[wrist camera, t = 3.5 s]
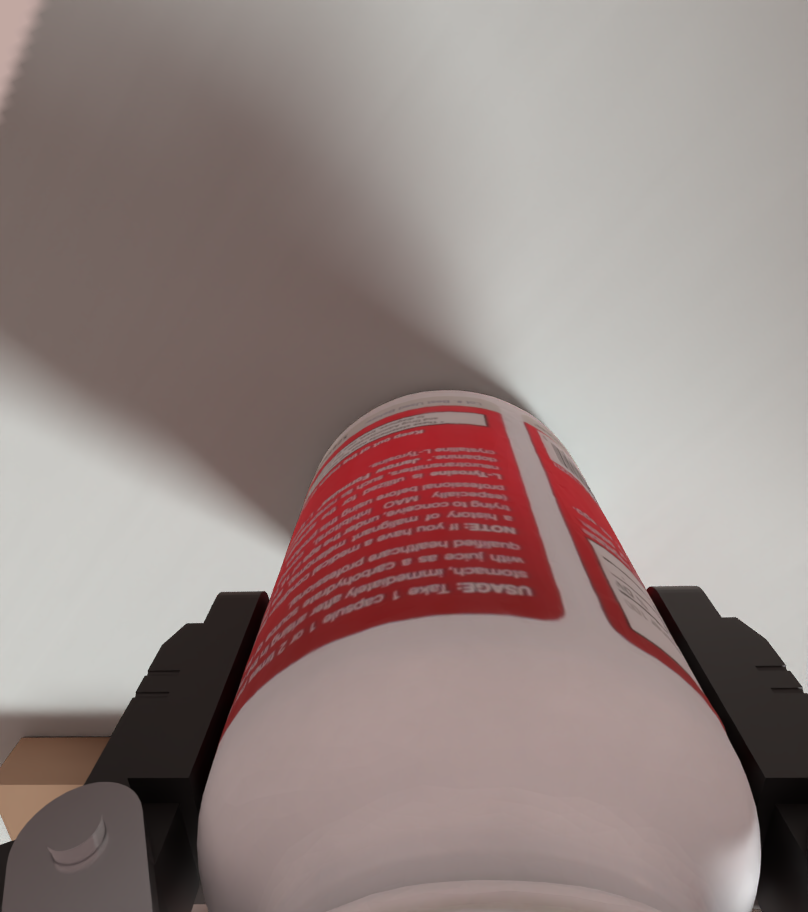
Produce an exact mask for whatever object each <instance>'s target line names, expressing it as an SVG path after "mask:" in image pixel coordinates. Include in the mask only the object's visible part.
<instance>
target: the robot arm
mask: <svg viewBox="0 0 808 912" xmlns="http://www.w3.org/2000/svg"><path fill="white" fill-rule="evenodd" d="M647 592H648V594H649V596H650V598H651V599H652V601H653V603H654V604H655V606H656V608H657V610H658V612H659V614H660V615H661V617H662V619H663V621H664V623H665V625H666V626H667V628H668V630H669V632H670V634H671V636H672V637H673V639H674V641H675V643H676V645H677V646H678V648H679V649H680V651H681V653H682V655H683V656H684V658H685V660H686V662H687V663H688V665H689V667H690V669H691V671H692V673H693V674H694V676H695V678H696V680H697V682H698V683H699V685H700V687H701V689H702V691H703V692H704V694H705V696H706V697H707V698H708V700H709V702H710V704H711V705H712V707H713V708H714V710H715V711H716V713H717V714H718V716H719V718H720V719H721V721H722V723H723V725H724V727H725V731H726V734H727V736H728V739H729V741H730V743H731V745H732V747H733V749H734V750H735V752H736V754H737V756H738V758H739V760H740V762H741V765H742V767H743V769H744V772H745V774H746V777H747V780H748V783H749V786H750V789H751V792H752V795H753V799H754V802H755V805H756V810H757V815H758V821H759V827H760V842H761V865H760V876H759V882H758V888H757V894H756V898H755V901H754V905H753V909H761V910H762V912H808V694H807V693H804V692H803V687H802V686H801V685H800V683H799V682H798V681H797V679H796V678H795V677H794V675H793V674H792V673H791V671H787V670H786V665H785V664H784V662H783V661H782V660H781V658H780V657H779V656H778V654H777V653H776V652H775V650H774V649H773V648H772V646H771V645H770V644H769V642H768V641H767V640H766V639H765V638H764V637H762V636H761V635H760V634H758V633H757V632H755V631H754V630H753V629H751V628H750V627H749V626H747V625H746V624H744V623H743V622H742V621H740V620H739V619H738V618H736V617H728V618H722V617H721V616H720V615H719V613H718V612H717V610H716V609H715V607H714V606H713V604H712V603H711V602H710V600H709V599H708V597H707V596H706V594H705V593H704V592H703V590H702V589H701V588H700V587H698V586H658V587H649V588H648V589H647ZM268 603H269V597H268V595H267V593H266V592H265V591H257V592H221V593H219V594H218V595H217V597H216V599H215V601H214V603H213V605H212V607H211V609H210V611H209V613H208V615H207V617H206V619H205V621H204V623H187V624H185V625H184V626H183V627H182V628H181V629H180V630H179V631H178V632H176V633H175V634H174V635H173V636H172V637H171V638H170V639H168V640H167V641H166V642H165V643H164V644H163V645H162V646H161V648H160V650H159V651H158V653H157V655H156V657H155V659H154V660H153V662H152V664H151V666H150V668H149V669H148V675H147V676H144V678H143V680H142V682H141V684H140V685H139V687H138V689H137V691H136V696H135V698H132V700H131V701H130V703H129V705H128V707H127V709H126V710H125V712H124V714H123V716H122V718H121V719H120V721H119V723H118V725H117V726H116V728H115V730H114V732H113V734H112V735H111V737H110V739H109V741H108V743H107V744H106V746H105V748H104V750H103V751H102V753H101V755H100V757H99V759H98V760H97V762H96V764H95V766H94V768H93V769H92V771H91V773H90V775H89V776H88V778H87V780H86V782H85V783H84V785H83V786H80V787H77V788H75V789H73V790H70V791H68V792H66V793H64V794H62V795H61V796H59V797H57V798H55V799H54V800H53V801H51V802H50V803H48V804H47V805H45V806H44V807H43V808H42V809H41V810H40V811H38V812H37V813H36V814H35V815H34V816H33V817H32V818H31V819H30V820H29V821H28V822H27V824H26V825H25V826H24V827H23V829H22V830H21V831H20V833H19V834H18V836H17V838H16V840H13V841H10V842H7V843H4V844H2V845H0V912H191V911H192V908H193V905H194V904H206V902H205V898H204V894H203V889H202V884H201V879H200V874H199V868H198V853H197V834H198V818H199V813H200V807H201V802H202V797H203V793H204V790H205V787H206V783H207V780H208V777H209V774H210V770H211V767H212V764H213V761H214V757H215V754H216V751H217V748H218V744H219V741H220V738H221V735H222V732H223V729H224V727H225V724H226V721H227V718H228V715H229V713H230V710H231V707H232V705H233V702H234V699H235V697H236V694H237V691H238V689H239V686H240V682H241V679H242V677H243V674H244V671H245V668H246V665H247V662H248V660H249V657H250V654H251V652H252V649H253V646H254V643H255V640H256V637H257V635H258V632H259V629H260V626H261V623H262V620H263V617H264V614H265V611H266V609H267V606H268Z"/></svg>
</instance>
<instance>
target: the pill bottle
mask: <svg viewBox="0 0 808 912" xmlns="http://www.w3.org/2000/svg"><path fill="white" fill-rule="evenodd" d="M197 853H198V868H199V874H200V879H201V884H202V889H203V894H204V898H205V902H206V905H207V908H208V911H209V912H752V909H753V905H754V901H755V898H756V894H757V888H758V882H759V876H760V865H761V842H760V827H759V821H758V815H757V810H756V805H755V802H754V799H753V795H752V792H751V789H750V786H749V783H748V780H747V777H746V774H745V772H744V769H743V767H742V765H741V762H740V760H739V758H738V756H737V754H736V752H735V750H734V749H733V747H732V745H731V743H730V741H729V739H728V736H727V734H726V731H725V727H724V725H723V723H722V721H721V719H720V718H719V716H718V714H717V713H716V711H715V710H714V708H713V707H712V705H711V704H710V702H709V700H708V698H707V697H706V696H705V694H704V692H703V691H702V689H701V687H700V685H699V683H698V682H697V680H696V678H695V676H694V674H693V673H692V671H691V669H690V667H689V665H688V663H687V662H686V660H685V658H684V656H683V655H682V653H681V651H680V649H679V648H678V646H677V645H676V643H675V641H674V639H673V637H672V636H671V634H670V632H669V630H668V628H667V626H666V625H665V623H664V621H663V619H662V617H661V615H660V614H659V612H658V610H657V608H656V606H655V604H654V603H653V601H652V599H651V598H650V596H649V594H648V592H647V590H646V589H645V587H644V585H643V583H642V581H641V580H640V578H639V576H638V575H637V573H636V571H635V569H634V567H633V565H632V564H631V562H630V560H629V558H628V557H627V555H626V553H625V551H624V549H623V548H622V546H621V544H620V542H619V540H618V538H617V537H616V535H615V533H614V531H613V530H612V528H611V526H610V524H609V522H608V520H607V519H606V517H605V515H604V514H603V512H602V510H601V508H600V506H599V504H598V503H597V501H596V499H595V497H594V495H593V494H592V492H591V490H590V488H589V486H588V485H587V482H586V480H585V478H584V477H583V475H582V473H581V471H580V470H579V468H578V467H577V465H576V463H575V462H574V460H573V458H572V457H571V455H570V454H569V452H568V451H567V449H566V448H565V447H564V445H563V444H562V443H561V442H560V440H559V439H558V438H557V437H556V436H555V435H554V434H553V432H552V431H550V430H549V429H548V428H547V427H546V426H545V425H544V424H543V423H542V422H540V421H539V420H538V419H536V418H535V417H534V416H532V415H531V414H529V413H528V412H526V411H524V410H522V409H520V408H518V407H516V406H514V405H512V404H510V403H508V402H506V401H503V400H501V399H498V398H495V397H492V396H488V395H484V394H480V393H475V392H469V391H459V390H437V391H425V392H420V393H415V394H410V395H405V396H403V397H400V398H397V399H394V400H392V401H389V402H387V403H385V404H382V405H380V406H378V407H377V408H375V409H373V410H371V411H370V412H368V413H367V414H365V415H364V416H362V417H361V418H359V419H358V420H356V421H355V422H354V423H353V424H352V425H350V426H349V427H348V428H347V429H346V430H345V431H344V432H343V433H342V434H341V435H340V436H339V437H338V438H337V439H336V440H335V442H334V443H333V444H332V445H331V447H330V448H329V450H328V451H327V452H326V454H325V455H324V457H323V459H322V461H321V463H320V465H319V466H318V468H317V471H316V473H315V475H314V477H313V480H312V482H311V484H310V487H309V489H308V492H307V495H306V498H305V501H304V504H303V507H302V510H301V513H300V516H299V519H298V521H297V524H296V527H295V529H294V532H293V535H292V538H291V541H290V544H289V547H288V549H287V552H286V555H285V558H284V561H283V564H282V567H281V570H280V573H279V575H278V578H277V581H276V584H275V586H274V589H273V592H272V595H271V598H270V600H269V603H268V606H267V609H266V611H265V614H264V617H263V620H262V623H261V626H260V629H259V632H258V635H257V637H256V640H255V643H254V646H253V649H252V652H251V654H250V657H249V660H248V662H247V665H246V668H245V671H244V674H243V677H242V679H241V682H240V686H239V689H238V691H237V694H236V697H235V699H234V702H233V705H232V707H231V710H230V713H229V715H228V718H227V721H226V724H225V727H224V729H223V732H222V735H221V738H220V741H219V744H218V748H217V751H216V754H215V757H214V761H213V764H212V767H211V770H210V774H209V777H208V780H207V783H206V787H205V790H204V793H203V797H202V802H201V807H200V813H199V818H198V834H197Z"/></svg>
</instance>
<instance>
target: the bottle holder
mask: <svg viewBox="0 0 808 912" xmlns="http://www.w3.org/2000/svg"><path fill="white" fill-rule="evenodd" d="M109 739H110V737H63V738H21V739H20V741H19V742H18V744H17V745H16V746H15V748H14V749H13V750H12V752H11V753H10V755H9V756H8V757H7V759H6V760H5V762H4V763H3V764H2V766H1V767H0V815H1V817H2V819H3V821H4V824H5V826H6V828H7V831H8V833H9V835H10V838H11V840H12V841H13V840H16V838H17V836H18V834H19V833H20V831H21V830H22V829H23V827H24V826H25V825H26V824H27V822H28V821H29V820H30V819H31V818H32V817H33V816H34V815H35V814H36V813H37V812H38V811H40V810H41V809H42V808H43V807H44V806H45V805H47V804H48V803H50V802H51V801H53V800H54V799H55V798H57V797H59V796H61V795H62V794H64V793H66V792H68V791H70V790H73V789H75V788H77V787H80V786H83V785H84V783H85V782H86V780H87V778H88V776H89V775H90V773H91V771H92V769H93V768H94V766H95V764H96V762H97V760H98V759H99V757H100V755H101V753H102V751H103V750H104V748H105V746H106V744H107V743H108V741H109ZM191 912H209V911H208V908H207V905H206V904H194V905H193V908H192V911H191Z"/></svg>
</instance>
